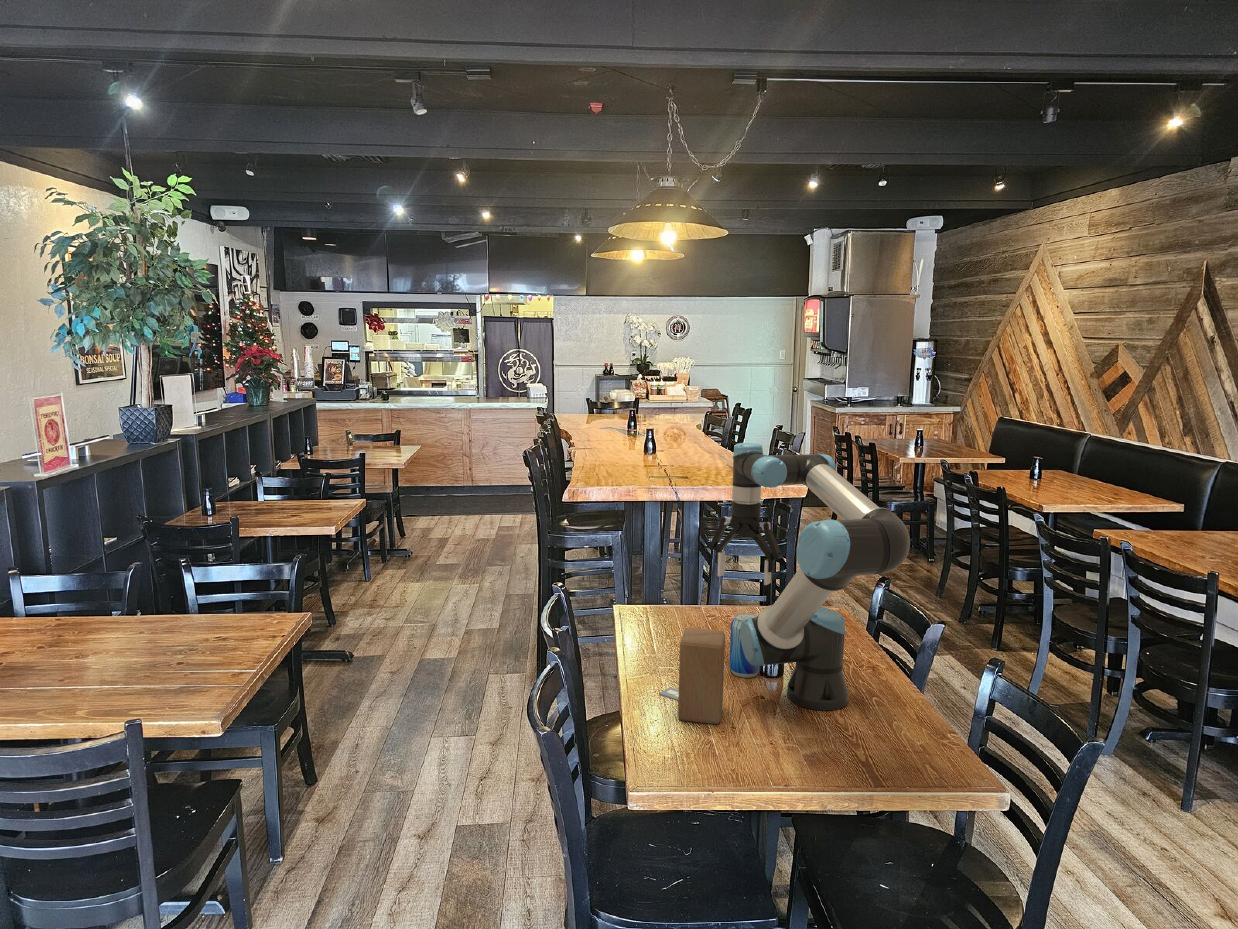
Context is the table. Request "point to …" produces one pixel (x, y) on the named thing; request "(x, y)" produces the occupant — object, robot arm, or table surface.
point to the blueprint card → (670, 693)
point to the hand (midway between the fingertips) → (743, 579)
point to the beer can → (740, 650)
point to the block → (701, 675)
